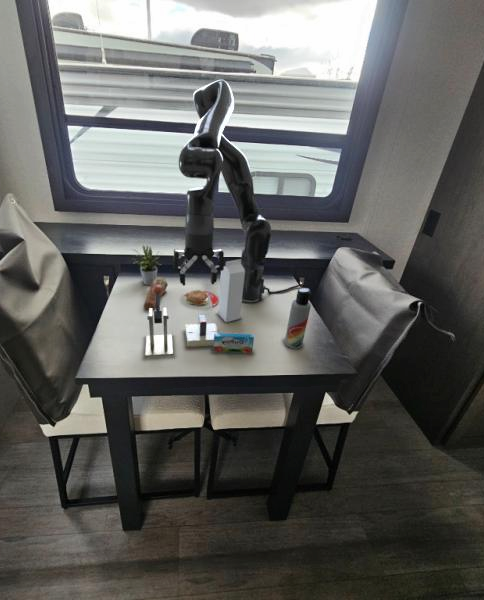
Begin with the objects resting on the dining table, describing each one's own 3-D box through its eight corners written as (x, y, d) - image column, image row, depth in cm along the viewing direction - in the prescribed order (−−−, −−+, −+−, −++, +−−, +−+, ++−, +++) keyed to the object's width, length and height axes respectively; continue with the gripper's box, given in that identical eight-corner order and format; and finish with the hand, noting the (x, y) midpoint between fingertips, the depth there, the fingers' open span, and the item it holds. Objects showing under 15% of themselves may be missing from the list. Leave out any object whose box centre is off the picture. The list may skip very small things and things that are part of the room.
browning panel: (214, 330, 107) (215, 322, 105) (219, 346, 99) (219, 338, 98) (185, 332, 105) (185, 324, 103) (187, 348, 97) (187, 340, 96)
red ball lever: (152, 289, 99) (152, 283, 97) (162, 289, 100) (162, 282, 97) (152, 324, 92) (152, 318, 89) (163, 323, 92) (163, 317, 90)
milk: (240, 319, 114) (246, 262, 104) (225, 322, 112) (230, 265, 101) (231, 310, 119) (236, 256, 108) (217, 314, 116) (221, 258, 105)
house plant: (125, 278, 137) (121, 242, 129) (154, 272, 145) (153, 237, 137) (138, 291, 127) (135, 253, 120) (169, 284, 135) (168, 247, 127)
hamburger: (218, 309, 119) (219, 295, 116) (181, 308, 118) (181, 294, 115) (217, 292, 131) (217, 279, 129) (183, 291, 130) (183, 278, 127)
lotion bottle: (298, 351, 100) (311, 295, 90) (281, 344, 102) (292, 289, 93) (304, 342, 104) (316, 288, 95) (288, 336, 107) (298, 283, 97)
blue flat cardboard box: (213, 352, 96) (214, 336, 93) (213, 349, 98) (214, 333, 95) (251, 353, 97) (254, 337, 94) (251, 350, 98) (253, 334, 96)
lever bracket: (146, 338, 100) (144, 303, 94) (171, 337, 102) (171, 302, 96) (145, 358, 92) (142, 321, 86) (173, 357, 93) (172, 320, 87)
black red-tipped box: (198, 327, 102) (198, 314, 100) (204, 327, 103) (204, 314, 100) (199, 335, 98) (200, 322, 96) (206, 335, 99) (206, 322, 96)
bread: (168, 289, 131) (167, 277, 128) (155, 313, 114) (154, 299, 111) (153, 288, 131) (152, 275, 128) (138, 311, 114) (137, 298, 111)
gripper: (222, 225, 89) (219, 277, 97) (171, 225, 86) (172, 279, 94) (228, 233, 83) (224, 288, 91) (173, 233, 80) (174, 290, 88)
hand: (198, 283), depth 92 cm, fingers open, 8 cm apart
